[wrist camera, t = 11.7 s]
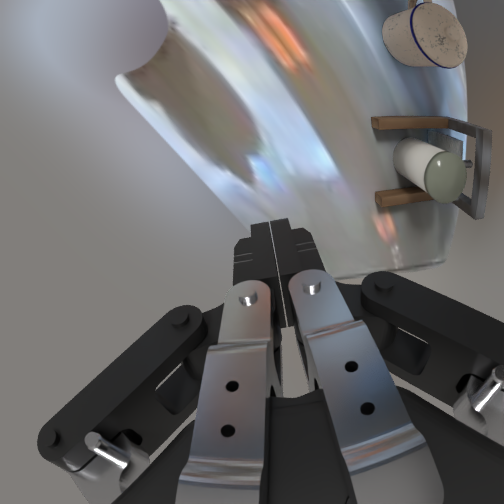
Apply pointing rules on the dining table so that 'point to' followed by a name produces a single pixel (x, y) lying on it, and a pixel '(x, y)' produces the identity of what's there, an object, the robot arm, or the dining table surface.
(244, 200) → the dining table surface
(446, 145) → the pusher
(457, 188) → the jar
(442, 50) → the teacup with lid
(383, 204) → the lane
